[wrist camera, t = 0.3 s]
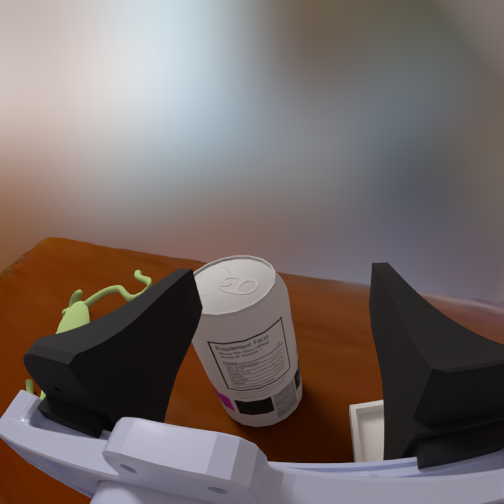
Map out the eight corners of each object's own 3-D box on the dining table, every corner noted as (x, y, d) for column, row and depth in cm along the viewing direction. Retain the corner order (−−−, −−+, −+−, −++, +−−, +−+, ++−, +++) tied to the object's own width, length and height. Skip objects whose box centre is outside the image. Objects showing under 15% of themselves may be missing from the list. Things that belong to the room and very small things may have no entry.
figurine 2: (168, 287, 52) (157, 259, 50) (127, 428, 29) (101, 401, 27) (82, 300, 54) (69, 275, 51) (22, 414, 31) (-2, 389, 28)
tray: (479, 486, 15) (486, 480, 15) (357, 518, 17) (359, 515, 17) (452, 392, 25) (457, 383, 24) (349, 413, 27) (349, 405, 26)
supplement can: (210, 414, 30) (152, 307, 22) (247, 358, 36) (212, 247, 28) (282, 440, 26) (250, 332, 18) (314, 375, 32) (300, 256, 24)
